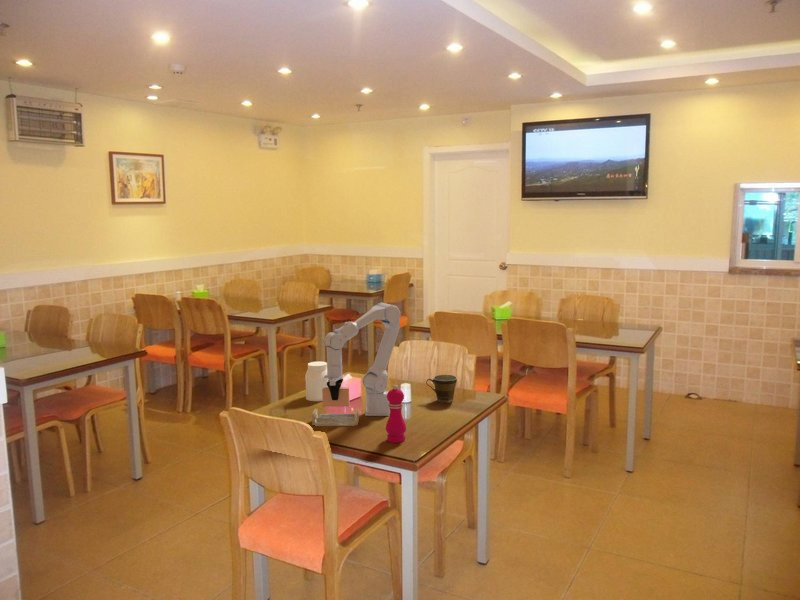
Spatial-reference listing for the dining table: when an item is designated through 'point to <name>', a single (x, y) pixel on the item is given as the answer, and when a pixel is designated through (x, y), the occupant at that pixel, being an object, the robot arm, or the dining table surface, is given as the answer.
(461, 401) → the dining table surface
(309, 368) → the jar
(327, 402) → the door panel
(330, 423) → the door track
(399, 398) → the pepper mill
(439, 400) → the ceramic cup
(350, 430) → the dining table surface
